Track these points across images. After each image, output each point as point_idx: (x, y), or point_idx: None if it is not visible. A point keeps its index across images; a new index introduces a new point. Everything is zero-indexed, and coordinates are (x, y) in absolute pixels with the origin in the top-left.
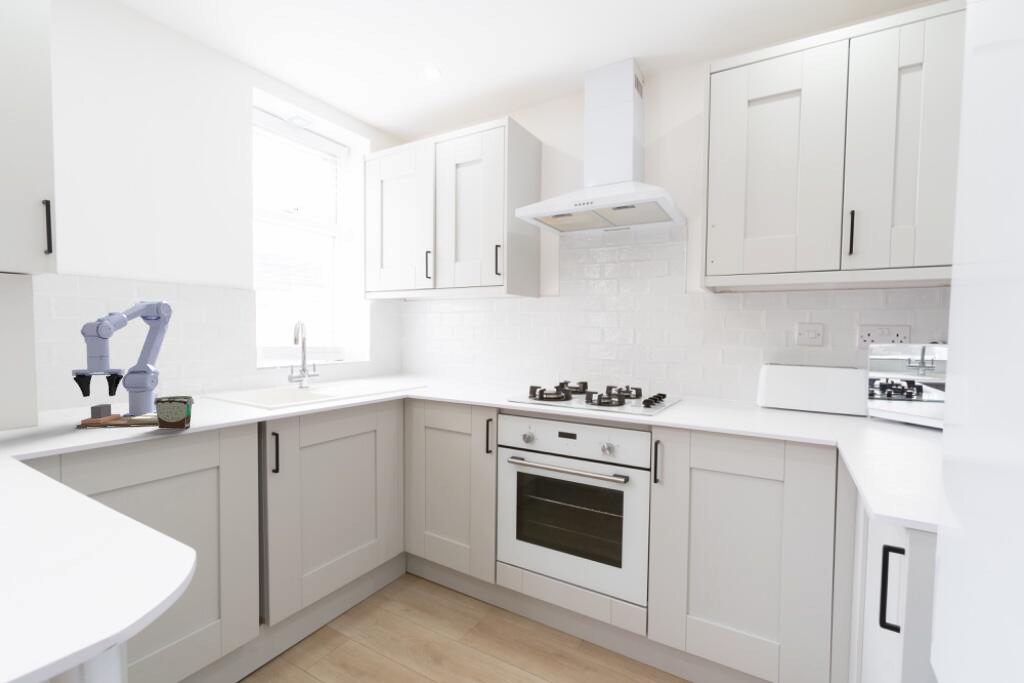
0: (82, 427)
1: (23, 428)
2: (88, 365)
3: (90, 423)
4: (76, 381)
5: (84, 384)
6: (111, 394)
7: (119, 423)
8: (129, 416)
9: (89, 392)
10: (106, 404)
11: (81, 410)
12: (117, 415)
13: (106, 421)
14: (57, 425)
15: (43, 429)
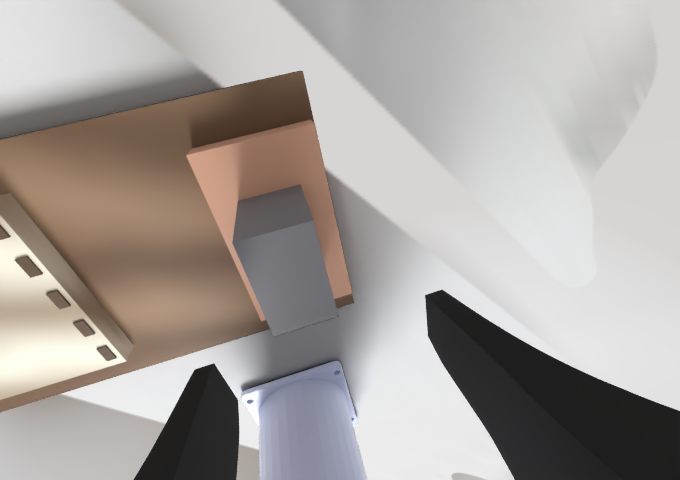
0: (265, 79)
1: (600, 70)
2: None
3: None
4: (668, 417)
5: (524, 418)
6: (185, 387)
7: (28, 154)
8: (239, 334)
9: (446, 364)
10: (286, 317)
11: None
12: (254, 300)
13: None
14: (481, 156)
15: (483, 38)
